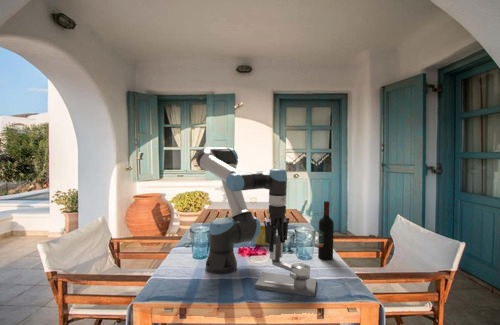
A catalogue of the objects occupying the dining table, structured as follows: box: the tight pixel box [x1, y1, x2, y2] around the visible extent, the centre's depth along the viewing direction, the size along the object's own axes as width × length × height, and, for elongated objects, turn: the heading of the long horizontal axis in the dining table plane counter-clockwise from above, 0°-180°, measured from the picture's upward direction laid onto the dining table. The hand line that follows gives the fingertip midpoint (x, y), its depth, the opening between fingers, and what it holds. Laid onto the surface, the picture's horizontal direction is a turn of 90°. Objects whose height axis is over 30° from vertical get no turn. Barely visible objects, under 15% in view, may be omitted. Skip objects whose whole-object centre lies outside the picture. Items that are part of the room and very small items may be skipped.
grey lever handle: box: [271, 234, 311, 281], centre depth 124 cm, size 18×11×14 cm, turn 45°
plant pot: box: [255, 225, 268, 246], centre depth 180 cm, size 10×10×10 cm
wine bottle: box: [317, 201, 335, 262], centre depth 156 cm, size 8×8×30 cm
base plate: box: [254, 271, 317, 297], centre depth 125 cm, size 24×13×6 cm, turn 74°
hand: (276, 257), depth 130 cm, fingers open, 4 cm apart
